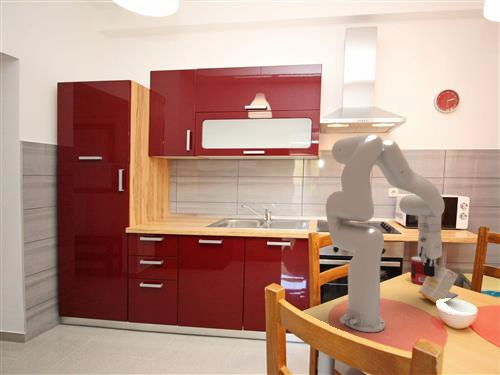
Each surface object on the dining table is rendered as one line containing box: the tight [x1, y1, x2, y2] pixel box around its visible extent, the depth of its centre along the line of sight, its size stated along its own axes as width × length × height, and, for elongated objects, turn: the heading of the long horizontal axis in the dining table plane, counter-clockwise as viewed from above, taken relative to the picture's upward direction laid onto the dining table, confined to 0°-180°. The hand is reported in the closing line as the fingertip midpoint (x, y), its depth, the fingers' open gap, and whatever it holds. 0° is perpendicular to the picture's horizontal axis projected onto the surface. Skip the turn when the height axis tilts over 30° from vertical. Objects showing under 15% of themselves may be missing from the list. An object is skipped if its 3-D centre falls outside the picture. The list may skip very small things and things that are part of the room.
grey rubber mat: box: [422, 291, 459, 299], centre depth 119 cm, size 12×8×1 cm, turn 126°
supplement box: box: [418, 263, 459, 303], centre depth 113 cm, size 8×5×13 cm, turn 0°
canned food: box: [410, 256, 427, 286], centre depth 135 cm, size 8×8×11 cm
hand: (429, 275), depth 113 cm, fingers closed
